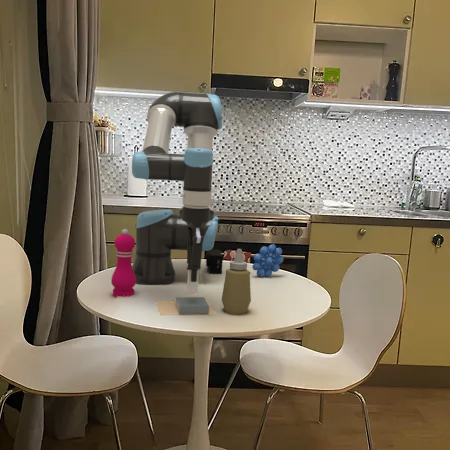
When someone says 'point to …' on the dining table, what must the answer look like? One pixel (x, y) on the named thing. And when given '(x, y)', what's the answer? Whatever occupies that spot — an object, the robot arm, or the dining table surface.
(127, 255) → the pepper mill
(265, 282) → the dining table surface
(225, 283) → the squeeze bottle
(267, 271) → the grapes
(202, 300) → the tile
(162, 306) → the mat
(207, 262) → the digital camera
